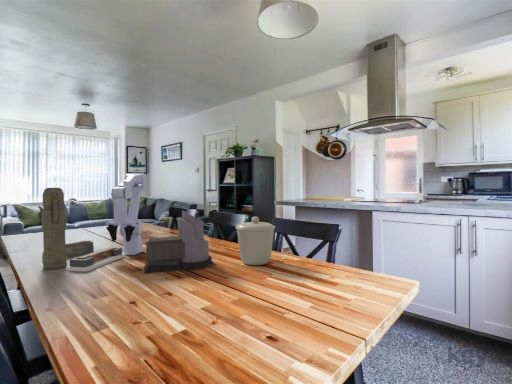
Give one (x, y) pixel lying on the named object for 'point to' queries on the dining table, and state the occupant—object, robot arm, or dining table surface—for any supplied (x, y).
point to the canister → (255, 241)
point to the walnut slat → (99, 254)
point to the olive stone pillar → (54, 229)
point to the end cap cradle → (89, 264)
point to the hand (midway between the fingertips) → (121, 241)
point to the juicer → (179, 248)
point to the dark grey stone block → (79, 248)
